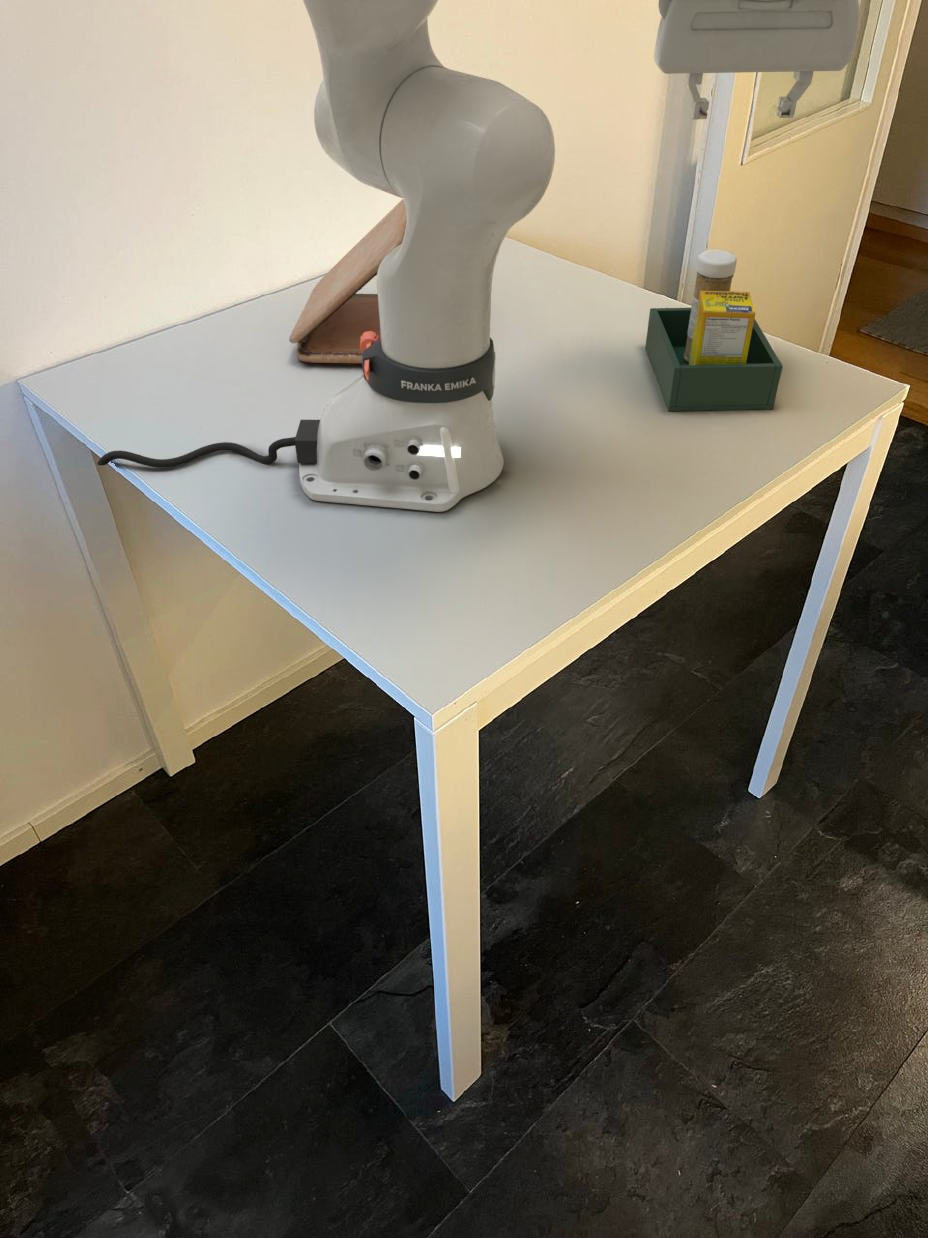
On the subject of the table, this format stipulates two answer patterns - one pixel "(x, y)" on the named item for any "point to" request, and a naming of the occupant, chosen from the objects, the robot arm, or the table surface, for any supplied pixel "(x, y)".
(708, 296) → the supplement box
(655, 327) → the box
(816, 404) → the table surface
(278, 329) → the table surface
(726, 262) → the sprinkles bottle
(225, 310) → the table surface
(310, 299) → the case
